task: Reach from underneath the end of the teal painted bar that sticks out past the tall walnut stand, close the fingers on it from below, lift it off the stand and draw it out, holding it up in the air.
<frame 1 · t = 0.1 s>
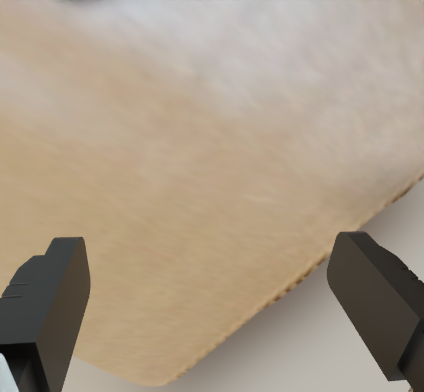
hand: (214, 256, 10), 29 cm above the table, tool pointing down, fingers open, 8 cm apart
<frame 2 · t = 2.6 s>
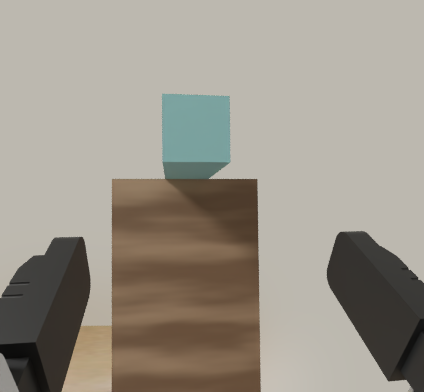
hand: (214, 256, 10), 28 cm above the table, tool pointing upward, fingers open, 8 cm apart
bar: (185, 181, 29), point 32 cm above the table, touching stand
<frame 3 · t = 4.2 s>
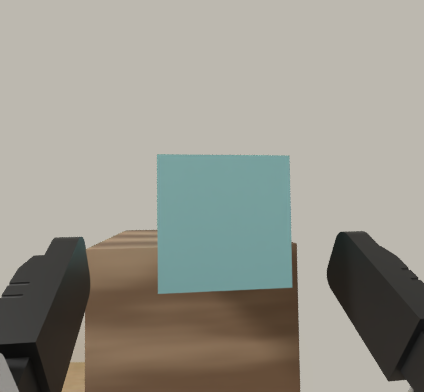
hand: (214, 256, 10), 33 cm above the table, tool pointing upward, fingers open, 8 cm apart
bar: (191, 241, 21), point 32 cm above the table, touching stand
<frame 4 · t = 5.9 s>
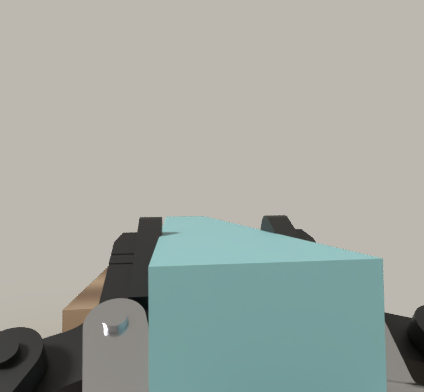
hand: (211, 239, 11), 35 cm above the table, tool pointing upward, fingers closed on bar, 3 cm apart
bar: (196, 286, 17), point 32 cm above the table, touching gripper, stand
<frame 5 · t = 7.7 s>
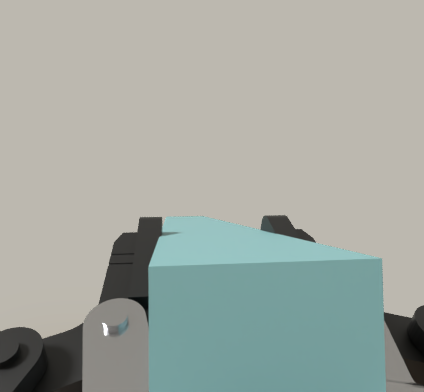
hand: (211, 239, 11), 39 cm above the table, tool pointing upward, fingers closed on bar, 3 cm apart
bar: (196, 286, 17), point 36 cm above the table, touching gripper
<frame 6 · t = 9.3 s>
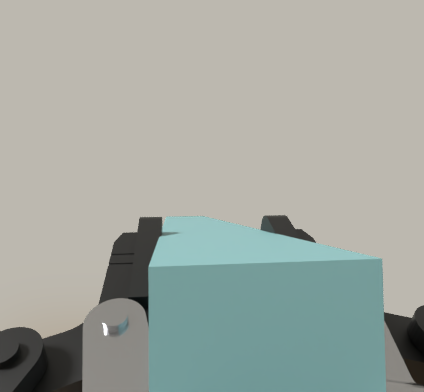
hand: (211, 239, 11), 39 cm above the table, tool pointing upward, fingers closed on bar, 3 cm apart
bar: (196, 286, 17), point 36 cm above the table, touching gripper
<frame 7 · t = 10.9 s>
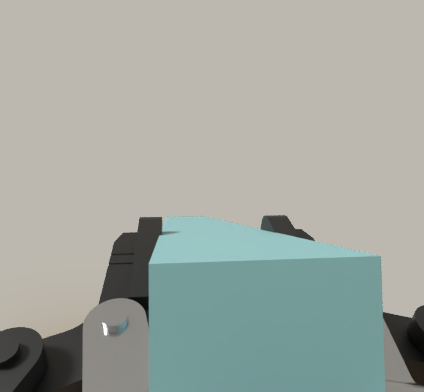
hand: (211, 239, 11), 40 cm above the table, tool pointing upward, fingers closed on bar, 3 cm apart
bar: (196, 286, 17), point 36 cm above the table, touching gripper
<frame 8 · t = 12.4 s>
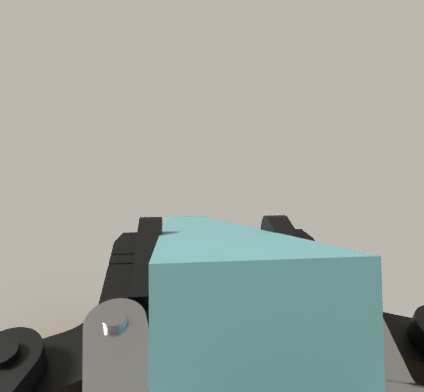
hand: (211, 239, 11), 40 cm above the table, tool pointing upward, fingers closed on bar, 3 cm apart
bar: (196, 286, 17), point 36 cm above the table, touching gripper
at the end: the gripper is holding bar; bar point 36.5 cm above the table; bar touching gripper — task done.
